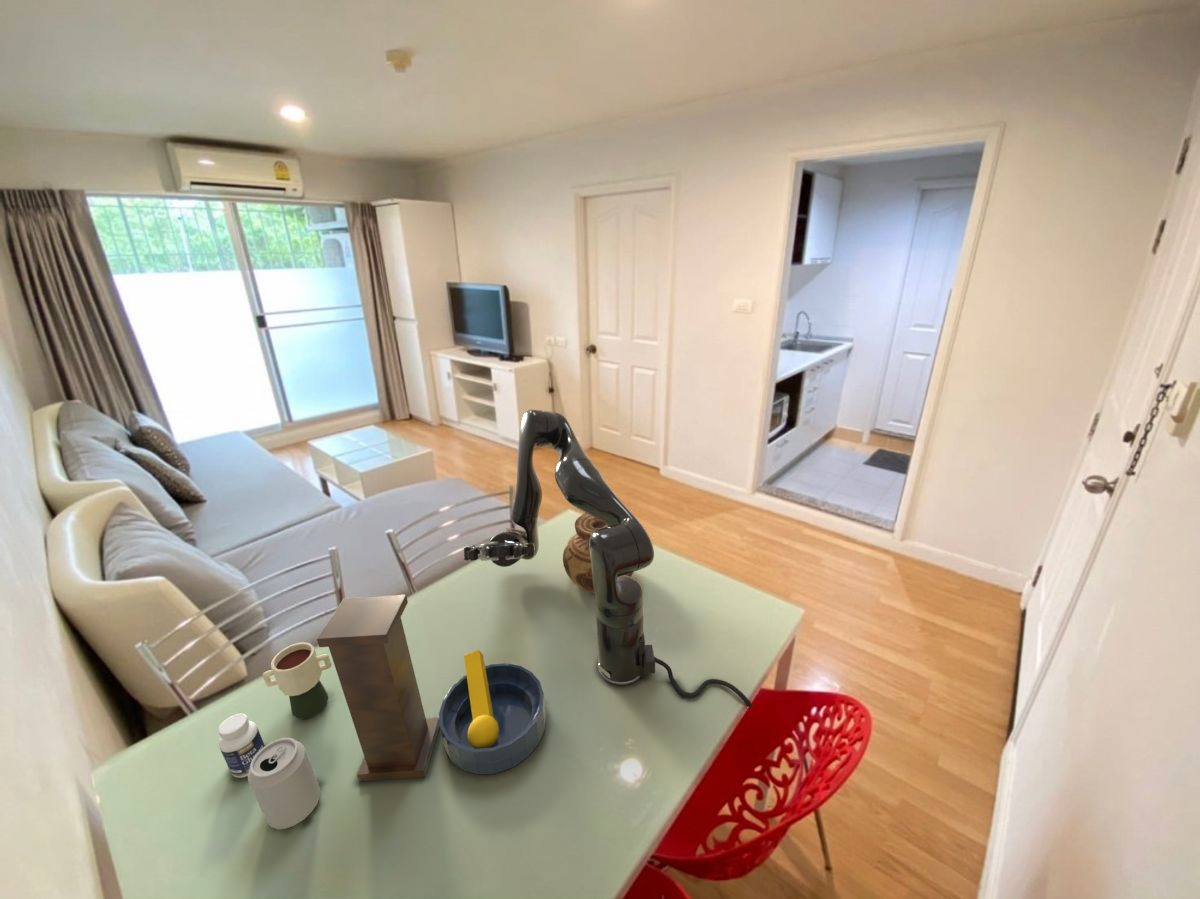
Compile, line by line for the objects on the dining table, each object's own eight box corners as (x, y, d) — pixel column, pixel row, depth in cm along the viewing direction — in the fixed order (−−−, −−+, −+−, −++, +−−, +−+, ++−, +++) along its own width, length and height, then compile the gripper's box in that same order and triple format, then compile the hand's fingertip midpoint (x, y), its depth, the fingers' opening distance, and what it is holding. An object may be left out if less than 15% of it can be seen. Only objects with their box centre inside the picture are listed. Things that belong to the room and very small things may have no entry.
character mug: (343, 683, 101) (327, 634, 96) (341, 711, 95) (323, 659, 90) (282, 703, 97) (262, 652, 92) (276, 732, 91) (254, 680, 86)
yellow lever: (488, 652, 96) (479, 640, 93) (505, 746, 84) (496, 736, 80) (463, 663, 96) (453, 651, 92) (475, 759, 83) (465, 750, 80)
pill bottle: (250, 781, 82) (231, 740, 79) (223, 776, 84) (204, 735, 80) (276, 751, 87) (259, 711, 84) (250, 746, 88) (233, 707, 85)
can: (257, 822, 76) (232, 770, 72) (300, 777, 83) (279, 726, 78) (290, 841, 74) (267, 788, 69) (332, 793, 80) (313, 741, 76)
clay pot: (649, 593, 118) (615, 528, 111) (579, 618, 121) (542, 557, 114) (643, 547, 136) (614, 489, 129) (583, 570, 139) (550, 515, 132)
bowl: (548, 683, 99) (546, 660, 96) (542, 772, 82) (539, 747, 80) (457, 689, 98) (453, 666, 96) (432, 780, 81) (426, 755, 79)
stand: (440, 723, 91) (410, 592, 80) (425, 777, 82) (388, 637, 71) (381, 727, 91) (342, 596, 80) (358, 781, 82) (310, 641, 70)
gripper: (476, 533, 113) (456, 536, 96) (538, 529, 113) (529, 532, 97) (477, 566, 112) (457, 575, 95) (539, 562, 112) (531, 571, 96)
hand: (493, 553), depth 96 cm, fingers open, 8 cm apart
